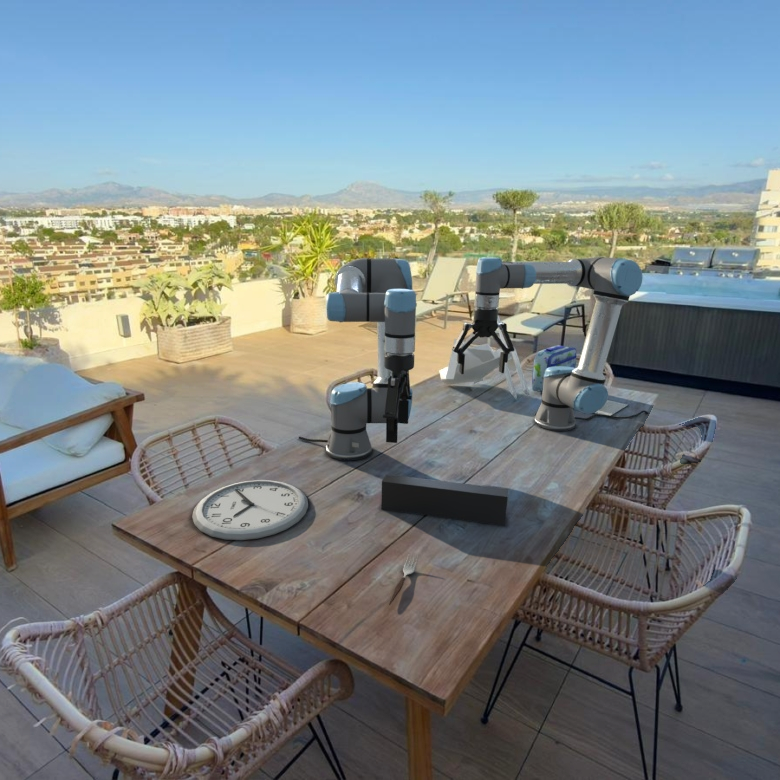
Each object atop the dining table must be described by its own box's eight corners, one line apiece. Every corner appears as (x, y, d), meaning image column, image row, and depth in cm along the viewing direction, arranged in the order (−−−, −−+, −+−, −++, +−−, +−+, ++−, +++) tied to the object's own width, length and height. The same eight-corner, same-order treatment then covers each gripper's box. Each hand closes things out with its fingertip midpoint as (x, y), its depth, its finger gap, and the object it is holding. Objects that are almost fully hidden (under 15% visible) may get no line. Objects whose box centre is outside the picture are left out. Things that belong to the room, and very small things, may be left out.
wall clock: (304, 532, 127) (176, 536, 124) (304, 538, 127) (177, 542, 125) (311, 475, 155) (207, 478, 153) (311, 480, 156) (208, 483, 153)
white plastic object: (461, 429, 252) (437, 405, 227) (444, 352, 274) (420, 323, 250) (535, 404, 240) (518, 377, 215) (510, 326, 262) (492, 293, 237)
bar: (505, 517, 139) (507, 488, 136) (504, 525, 134) (507, 496, 132) (385, 501, 145) (385, 474, 143) (381, 509, 141) (381, 481, 139)
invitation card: (608, 416, 214) (573, 407, 224) (608, 416, 214) (573, 408, 224) (628, 404, 229) (594, 396, 238) (628, 405, 229) (594, 397, 238)
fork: (383, 605, 105) (383, 597, 105) (407, 560, 120) (408, 552, 119) (395, 608, 104) (395, 600, 104) (418, 562, 119) (419, 555, 118)
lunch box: (548, 398, 236) (553, 353, 229) (527, 393, 243) (531, 349, 237) (575, 387, 253) (581, 344, 247) (555, 382, 260) (560, 341, 254)
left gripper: (395, 341, 142) (394, 414, 149) (371, 363, 119) (371, 449, 125) (422, 343, 141) (420, 417, 147) (403, 366, 117) (401, 452, 124)
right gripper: (450, 309, 160) (447, 376, 166) (528, 309, 163) (522, 374, 170) (444, 306, 167) (441, 370, 173) (519, 306, 171) (513, 368, 177)
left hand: (397, 432), depth 136 cm, fingers open, 13 cm apart
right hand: (481, 372), depth 172 cm, fingers open, 13 cm apart
